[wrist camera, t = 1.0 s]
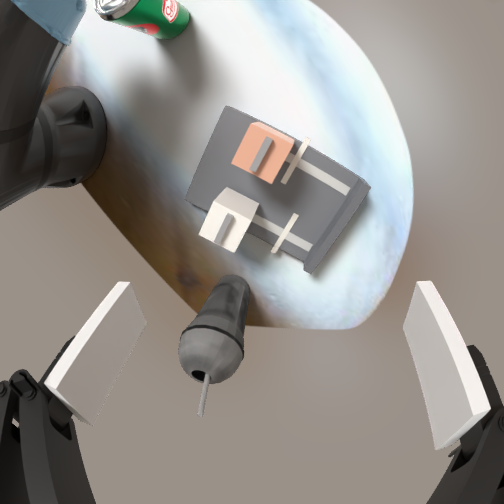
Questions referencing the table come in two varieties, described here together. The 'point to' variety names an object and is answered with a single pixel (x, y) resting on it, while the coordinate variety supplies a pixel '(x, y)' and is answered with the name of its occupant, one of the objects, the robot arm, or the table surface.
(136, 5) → the soda can
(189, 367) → the beverage cup
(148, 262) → the table surface
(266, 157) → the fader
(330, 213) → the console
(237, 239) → the block
